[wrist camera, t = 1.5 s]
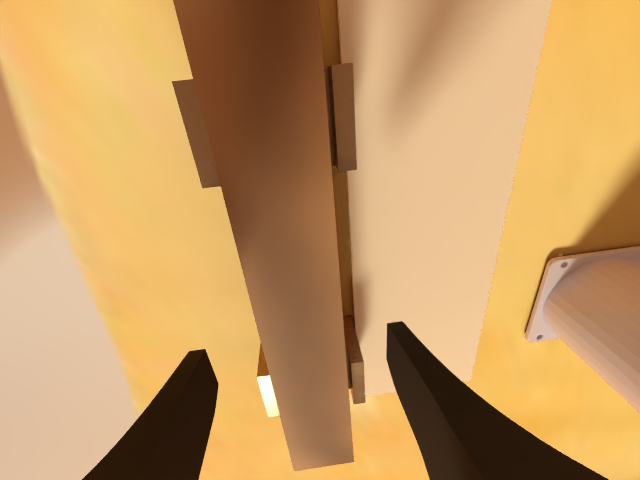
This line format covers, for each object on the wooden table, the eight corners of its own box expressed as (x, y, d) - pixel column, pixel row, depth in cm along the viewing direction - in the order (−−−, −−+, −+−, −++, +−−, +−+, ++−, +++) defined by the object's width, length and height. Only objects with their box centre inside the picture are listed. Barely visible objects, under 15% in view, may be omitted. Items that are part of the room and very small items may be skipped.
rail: (307, -30, 11) (313, -70, 8) (345, 415, 23) (353, 461, 20) (193, -19, 11) (158, -57, 8) (293, 422, 23) (294, 471, 20)
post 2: (351, 315, 22) (363, 361, 19) (353, 353, 24) (365, 402, 20) (262, 327, 22) (257, 377, 18) (271, 365, 24) (268, 417, 20)
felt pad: (564, -92, 13) (572, -97, 13) (468, 376, 27) (470, 380, 27) (333, -72, 12) (334, -76, 12) (358, 393, 26) (359, 397, 26)
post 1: (336, 67, 15) (353, 62, 11) (341, 150, 17) (356, 169, 13) (201, 82, 15) (171, 81, 11) (221, 164, 16) (202, 188, 13)
